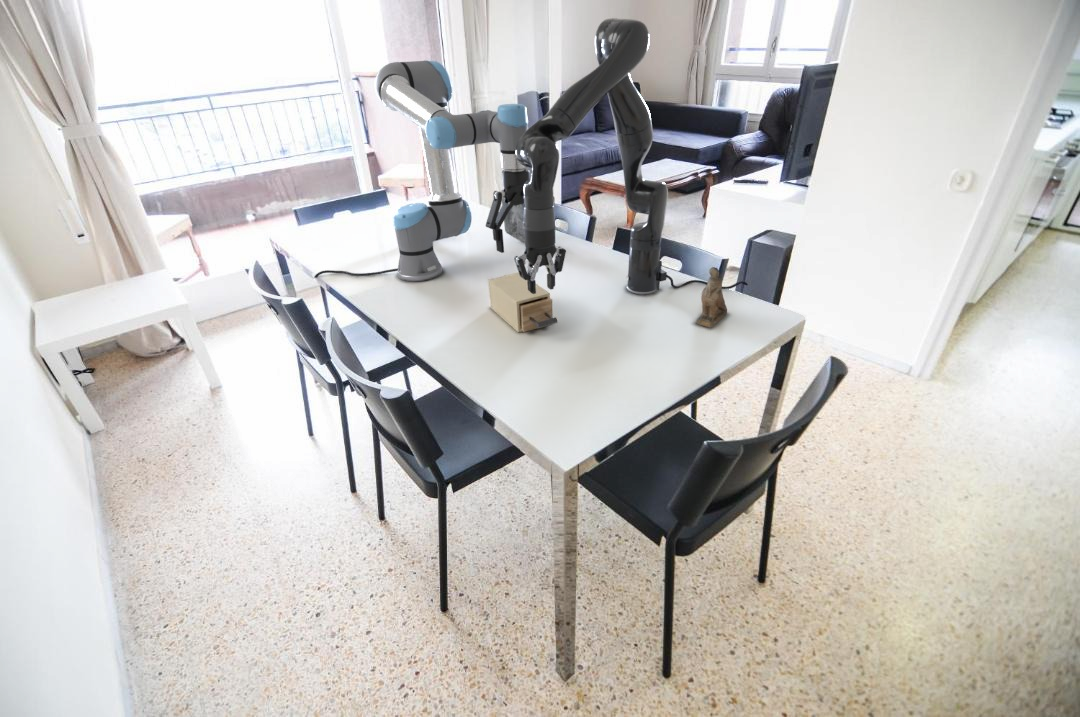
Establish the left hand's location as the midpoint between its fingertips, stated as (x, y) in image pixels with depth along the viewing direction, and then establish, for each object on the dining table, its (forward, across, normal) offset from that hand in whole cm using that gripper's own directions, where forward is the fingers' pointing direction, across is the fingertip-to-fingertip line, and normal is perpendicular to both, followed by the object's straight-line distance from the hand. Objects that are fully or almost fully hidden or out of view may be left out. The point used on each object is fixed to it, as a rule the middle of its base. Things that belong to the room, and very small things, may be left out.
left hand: (520, 246), depth 144 cm
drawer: (+17, -7, -12) cm, 22 cm away
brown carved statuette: (+18, +34, -43) cm, 58 cm away
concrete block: (+18, +34, +44) cm, 58 cm away
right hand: (+5, -8, -20) cm, 22 cm away
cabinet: (+18, -6, -6) cm, 20 cm away
